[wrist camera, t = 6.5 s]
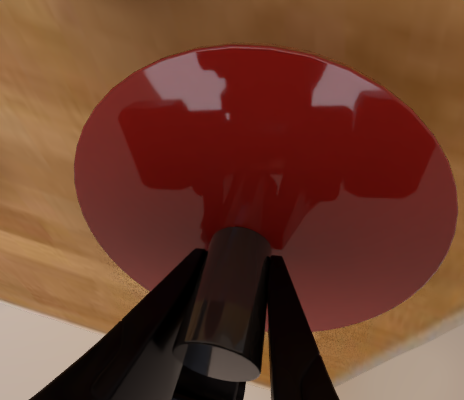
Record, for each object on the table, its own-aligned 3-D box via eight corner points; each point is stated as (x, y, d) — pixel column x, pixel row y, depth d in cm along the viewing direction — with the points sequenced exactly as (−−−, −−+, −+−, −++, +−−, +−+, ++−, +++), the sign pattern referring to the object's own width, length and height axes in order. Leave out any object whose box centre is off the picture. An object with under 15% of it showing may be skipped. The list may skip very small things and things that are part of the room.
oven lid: (535, 230, 8) (775, 455, 4) (267, 334, 16) (258, 442, 12) (173, -121, 5) (-349, -657, 1) (68, 227, 13) (-31, 324, 9)
